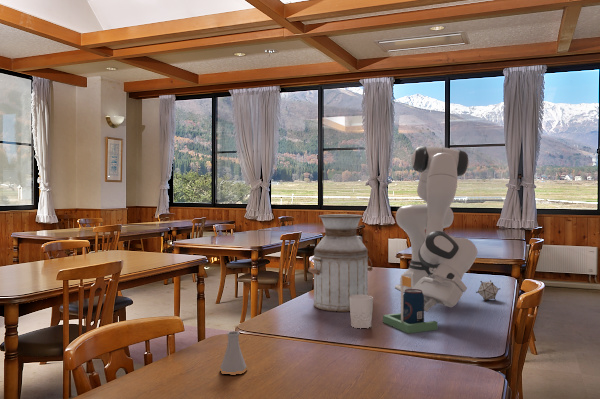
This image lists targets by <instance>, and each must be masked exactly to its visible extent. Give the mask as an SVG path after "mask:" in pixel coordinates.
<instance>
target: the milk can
mask: <svg viewBox="0 0 600 399" xmlns="http://www.w3.org/2000/svg"><path fill="white" fill-rule="evenodd" d="M317 217H318V218H320V219H321V221H322V225H323V227H324V229H325V232H324V233H325V234H324V236H323V237H322V238H321V240H320V241H319V243H318V244H317V245H316V246H315V248H314V250H313V257H312V258H311V259H310V262H309V267H308V269H307V271H308V273H311V274H313V306H314V308H316V309H319V310H323V311H329V312H336V311H337V312H338V313H340V312H341V313H343V312H345V313H348V312H349V311H350V300H349V297H350V296H351V295H369V290H368V289H369V288H368V287H369V285H368V283H369V281H368V280H369V279H368V277H369V276H368V274H369V272H372V271H373V262H372V261H371V259H370V257H369V255H368V252H369V249H368V248H367V247H366V246H365V244H364V243H363V240H362V241H361V240H360V239H359V238H358V237H357V236H358V235H357V229H358V225H359V223H360V221H361V219H362V218H364V215H362V214H347V213H346V214H340V213H337V214H336V213H335V214H334V213H333V214H320V215H318V216H317ZM356 235H357V236H356ZM312 261H313V267H311V264H312ZM368 262H370V265H371V266H369V264H368Z"/></svg>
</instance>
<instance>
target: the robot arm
mask: <svg viewBox="0 0 600 399" xmlns="http://www.w3.org/2000/svg"><path fill="white" fill-rule="evenodd" d="M469 163H470V161H469V156H468V154H467V152H466V151H464V150H461V149H453V148H449V147H445V146H443V147H439V146H425V145H421V146H418V147H416V148H415V149H414V152H413V153H412V155H411V165H412V168H413V170H414V171H416V172H418V173H420V175H419V178H418V183H417V188H416V192H417V195H418V197H419V198H420V199H421V200H423V201H424V202H426V203H425V204H408V205H403V206H399V208H398V209H397V211H396V213H395V221H396V224H397V225H398V227H400V229H402V230H403V231H404V232H405V233H406V234H407V236H408V238H409V240H410V245H411V260H408V263H409V266H408V268H407V270H405V272H404V271H403V273H402V274H401V275H403V276H405V277H409V278H411V287H407V286H404V285H403V293H405V290H406V289H418V290H422V293H423V295H424V312H428V311H429V310H430V309H431V308H433V307H434V306H435V305H436V304H439V305H442V306H445V307H449V308H453V307H454V306H456V305H457V304H458V302H459V301H460V299H461V298H462V296H463V294H464V293H465V292H466V291H467V289H468V287H467V286H466V285H465V283H464V282H463V281H462V279H463V276H464V275H465V274H466V273H467V272H468V271H469V270H470V269H471V267H472V266H473V264H474V263H475V260H476V259H477V256H478V249H477V246H476V245H475V244H474V242H472V241H471V240H470V239H468V238H466V237H456V236H452V235H450V234H448V233H446V232H444V229H446V228H449V227H450V226H452V224H453V221H454V218H455V217H454V212H453V210H452V208H451V205H452V203H453V201H454V199H455V197H456V192H457V188H458V177H461V176H464V175H465V174H466V173H467V172H466V171H467V170H468V168H469V165H470V164H469ZM399 280H400V281H399V284H396V285H394V289H396V290H399V291H400V292H401V277H400V278H399Z"/></svg>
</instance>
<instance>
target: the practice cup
mask: <svg viewBox="0 0 600 399" xmlns="http://www.w3.org/2000/svg"><path fill="white" fill-rule="evenodd" d="M400 278H401V291H400V312H398V313H390V314H383V315H382V323H383V322H384V324H386V325H388V326H390V327H392V326H393V327H392V328H395V329H397V330H399V331H401V332H404V333H406V334H414V333H422V332H429V331H435V330H436V331H437V330H439V328H438V321H437V320H433V321H432V320H431V321H424V322H422V323H414V324H408V323H405V322H403V295H404V292H403V285H404V286H407V287H411V278H409V277H405V276H403V275H402V274H401V275H400Z"/></svg>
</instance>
